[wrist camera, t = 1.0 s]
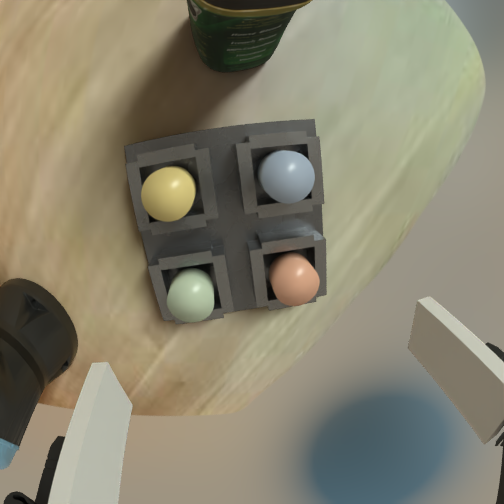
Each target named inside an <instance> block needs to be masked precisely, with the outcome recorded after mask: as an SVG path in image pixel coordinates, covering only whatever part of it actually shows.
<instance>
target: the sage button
mask: <svg viewBox="0 0 504 504" xmlns="http://www.w3.org/2000/svg"><path fill="white" fill-rule="evenodd" d="M167 306H168V308H169V310H170V312H171V313H172V314H173V315H174V316H175V317H176V318H178V319H179V320H181V321H184V322H191V323H193V322H199V321H202V320H204V319H206V318H207V317H208V316H209V315H210V314H211V312H212V311H213V308H214V284H213V281H212V279H211V278H210V276H209V275H208V274H207V273H206V272H204V271H202V270H200V269H197V268H186V269H183V270H181V271H179V272H178V273H176V274H175V276H174V277H173V279H172V281H171V285H170V289H169V292H168V296H167Z"/></svg>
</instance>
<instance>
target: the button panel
mask: <svg viewBox="0 0 504 504" xmlns="http://www.w3.org/2000/svg"><path fill="white" fill-rule="evenodd" d="M124 147H125V153H126V160H127V164H126V170H127V176H128V181H129V186H130V192H131V197H132V202H133V207H134V211H135V216H136V220H137V225H138V229H139V231H141V235H142V239H143V243H144V247H145V251H146V255H147V259H148V263H149V265H148V269H149V273H150V276H151V280H152V284H153V287H154V291H155V294H156V297H157V301H158V304H159V307H160V311H161V314H162V317H163V320H164V321H169V320H175V323H176V324H182V323H190V322H184V321H181V320H179V319H178V318H176V317H175V316H174V315H173V314H172V313H171V312H170V310H169V308H168V306H167V296H168V292H169V289H170V285H171V281H172V279H173V277H174V276H175V274H176V273H178V272H179V271H181V270H183V269H186V268H197V269H200V270H202V271H204V272H206V273H207V274H208V275H209V276H210V278H211V279H212V281H213V284H214V308H213V311H212V312H211V314H210V315H209V316H208V317H207V318H206V319H204V320H202V321H205V320H212V319H219V318H224V314H223V313H227V312H234V311H240V310H246V309H252V308H258V307H264V306H268V309H269V310H274V309H280V308H286V307H291V306H289V305H285V304H283V303H282V302H280V301H279V300H278V299H277V297H276V295H275V293H274V290H273V288H272V285H271V283H270V280H269V274H268V273H269V268H270V265H271V264H272V262H273V261H274V260H275V259H276V258H277V257H278V256H280V255H282V254H284V253H288V252H295V253H299V254H301V255H303V256H304V257H305V258H306V259H307V260H308V261H309V263H310V264H311V265H312V267H313V268H314V269H315V271H316V272H317V274H318V276H319V281H320V283H319V288H318V291H317V293H316V294H315V296H314V297H313V298H312V299H311V300H310V301H308V302H307V303H312V302H316V297H319V296H324V295H326V239H325V238H324V237H323V224H322V204H324V191H323V176H322V162H321V150H320V139H319V137H316V128H315V119H309V120H290V121H276V122H265V123H254V124H245V125H236V126H228V127H221V128H214V129H207V130H201V131H195V132H189V133H183V134H178V135H173V136H167V137H162V138H158V139H153V140H148V141H144V142H139V143H135V144H131V145H127V146H124ZM277 150H286V151H294V152H297V153H300V154H302V155H303V156H305V157H306V158H307V159H308V160H309V161H310V163H311V164H312V167H313V169H314V174H315V180H314V185H313V188H312V190H311V191H310V193H309V194H308V195H307V196H306V197H305V198H304V199H302V200H301V201H299V202H296V203H290V204H286V203H281V202H278V201H276V200H274V199H273V198H272V197H271V196H270V195H269V194H268V193H267V192H266V191H264V189H263V188H262V187H261V185H260V183H259V181H258V174H257V173H258V167H259V164H260V162H261V161H262V159H263V158H264V157H265V156H266V155H267V154H269V153H271V152H273V151H277ZM166 166H179V167H182V168H184V169H186V170H187V171H188V172H189V173H190V174H191V175H192V176H193V178H194V180H195V183H196V195H195V198H194V201H193V204H192V206H191V208H190V210H189V211H188V212H187V214H186V215H185V216H183V217H182V218H180V219H178V220H175V221H170V222H164V221H160V220H157V219H155V218H153V217H152V216H151V215H150V214H149V213H148V212H147V211H146V210H145V208H144V206H143V204H142V199H141V191H142V187H143V184H144V182H145V180H146V179H147V178H148V177H149V176H150V175H151V174H152V173H154V172H155V171H157V170H159V169H161V168H164V167H166ZM307 303H305V304H307Z"/></svg>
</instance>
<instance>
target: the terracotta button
mask: <svg viewBox="0 0 504 504" xmlns="http://www.w3.org/2000/svg"><path fill="white" fill-rule="evenodd" d="M268 274H269V280H270V283H271V285H272V288H273V290H274V293H275V295H276V297H277V299H278V300H279V301H280V302H282V303H283V304H285V305H289V306H299V305H302V304H305V303H307V302H308V301H310V300H311V299H312V298H313V297H314V296H315V294H316V293H317V291H318V288H319V283H320V281H319V276H318V274H317V272H316V271H315V269H314V268H313V267H312V265H311V264H310V263H309V261H308V260H307V259H306V258H305V257H304V256H303V255H301V254H299V253H295V252H288V253H284V254H282V255H280V256H278V257H277V258H276V259H275V260H274V261H273V262H272V264H271V265H270V268H269V273H268Z"/></svg>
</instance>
